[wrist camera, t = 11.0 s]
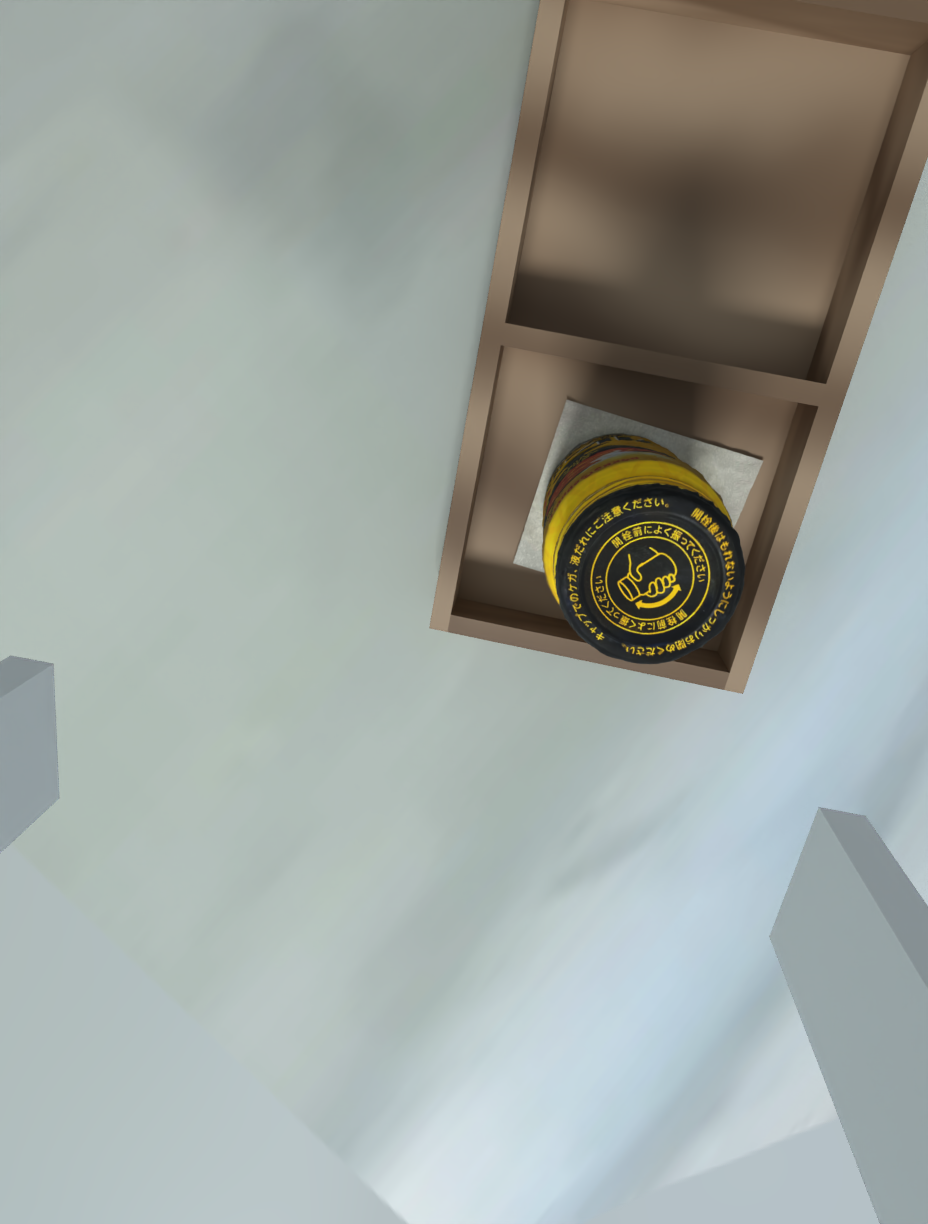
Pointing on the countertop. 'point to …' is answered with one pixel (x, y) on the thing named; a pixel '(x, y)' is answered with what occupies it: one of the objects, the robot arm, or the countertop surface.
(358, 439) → the countertop surface
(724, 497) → the condiment
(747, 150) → the caddy
